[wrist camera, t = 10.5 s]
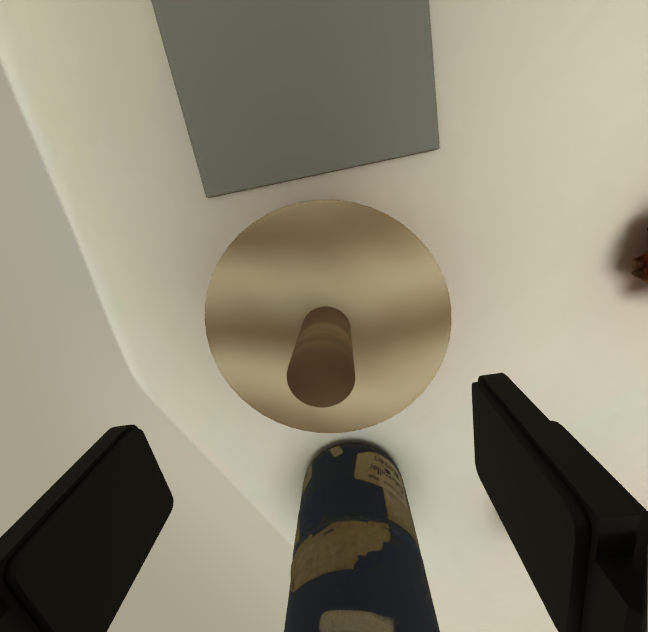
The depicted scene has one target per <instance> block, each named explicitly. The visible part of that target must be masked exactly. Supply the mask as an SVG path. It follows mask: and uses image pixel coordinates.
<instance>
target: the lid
mask: <svg viewBox="0 0 648 632" xmlns="http://www.w3.org/2000/svg"><path fill="white" fill-rule="evenodd" d="M205 325H206V334H207V338H208V342H209V346H210V350H211V352H212V355H213V357H214V360H215V362H216V364H217V366H218V368H219V370H220V372H221V373H222V375H223V377H224V378H225V380H226V381H227V382H228V384H229V385H230V386H231V388H232V389H233V390H234V391H235V392H236V393H237V394H238V395H239V396H240V397H241V398H242V399H243V400H244V401H245V402H246V403H248V404H249V405H250V406H251V407H252V408H254V409H255V410H257V411H258V412H260V413H261V414H263V415H264V416H266V417H268V418H270V419H272V420H274V421H276V422H278V423H281V424H284V425H286V426H289V427H292V428H296V429H300V430H304V431H311V432H318V433H340V432H349V431H354V430H360V429H363V428H367V427H370V426H373V425H376V424H378V423H380V422H383V421H385V420H387V419H389V418H391V417H392V416H394V415H396V414H398V413H399V412H401V411H402V410H403V409H405V408H406V407H407V406H409V405H410V404H411V403H412V402H413V401H414V400H416V399H417V398H418V397H419V396H420V395H421V394H422V393H423V391H424V390H425V389H426V388H427V386H428V385H429V384H430V383H431V381H432V380H433V378H434V376H435V375H436V373H437V371H438V370H439V368H440V365H441V363H442V361H443V358H444V356H445V353H446V350H447V346H448V343H449V338H450V330H451V305H450V299H449V293H448V289H447V286H446V283H445V280H444V277H443V275H442V273H441V270H440V268H439V266H438V264H437V262H436V261H435V259H434V258H433V256H432V255H431V253H430V252H429V250H428V249H427V247H426V246H425V245H424V244H423V243H422V242H421V241H420V240H419V238H418V237H417V236H416V235H415V234H413V233H412V232H411V231H410V230H409V229H408V228H406V227H405V226H404V225H403V224H401V223H400V222H398V221H396V220H395V219H393V218H392V217H390V216H389V215H387V214H384V213H382V212H380V211H378V210H375V209H373V208H371V207H367V206H364V205H360V204H357V203H353V202H346V201H339V200H315V201H308V202H300V203H297V204H293V205H290V206H286V207H283V208H280V209H278V210H276V211H274V212H271V213H269V214H267V215H265V216H264V217H262V218H260V219H259V220H257V221H256V222H254V223H252V224H251V225H250V226H249V227H248V228H246V229H245V230H244V231H243V232H242V233H240V234H239V235H238V237H237V238H236V239H235V240H234V241H233V242H232V243H231V244H230V245H229V247H228V248H227V249H226V251H225V253H224V254H223V256H222V257H221V259H220V260H219V262H218V264H217V266H216V268H215V270H214V273H213V275H212V278H211V281H210V284H209V287H208V291H207V297H206V304H205Z"/></svg>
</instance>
